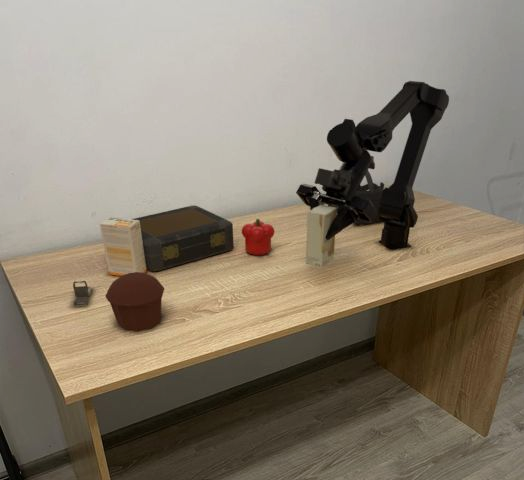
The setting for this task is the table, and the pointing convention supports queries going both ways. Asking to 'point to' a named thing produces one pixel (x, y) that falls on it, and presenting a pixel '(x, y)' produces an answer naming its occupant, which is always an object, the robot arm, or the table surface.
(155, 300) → the muffin
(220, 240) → the cash box
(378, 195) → the virtual reality headset
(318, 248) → the cosmetic box
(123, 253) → the supplement box
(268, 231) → the red pepper
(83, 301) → the strap clip
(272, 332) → the table surface
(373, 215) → the robot arm
